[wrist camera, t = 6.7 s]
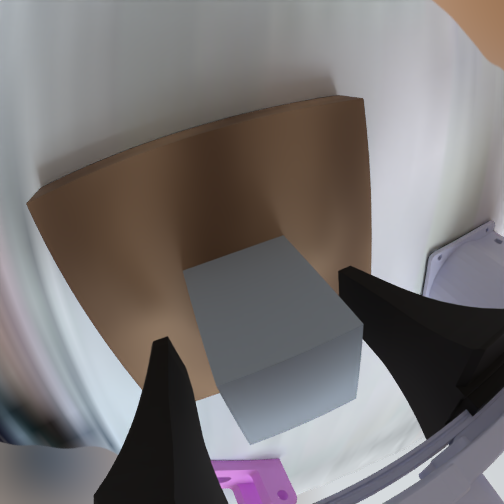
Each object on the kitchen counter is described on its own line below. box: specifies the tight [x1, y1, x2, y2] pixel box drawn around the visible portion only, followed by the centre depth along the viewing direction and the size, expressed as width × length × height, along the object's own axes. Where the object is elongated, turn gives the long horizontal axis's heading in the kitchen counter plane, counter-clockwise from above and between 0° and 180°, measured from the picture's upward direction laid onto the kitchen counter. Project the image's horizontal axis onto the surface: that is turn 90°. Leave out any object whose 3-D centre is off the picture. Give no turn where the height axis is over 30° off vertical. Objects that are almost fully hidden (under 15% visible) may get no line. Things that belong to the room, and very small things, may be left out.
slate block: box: [183, 235, 364, 445], centre depth 12 cm, size 4×4×6 cm
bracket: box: [211, 459, 297, 504], centre depth 25 cm, size 13×6×7 cm, turn 56°
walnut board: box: [26, 95, 372, 401], centre depth 15 cm, size 14×14×2 cm
